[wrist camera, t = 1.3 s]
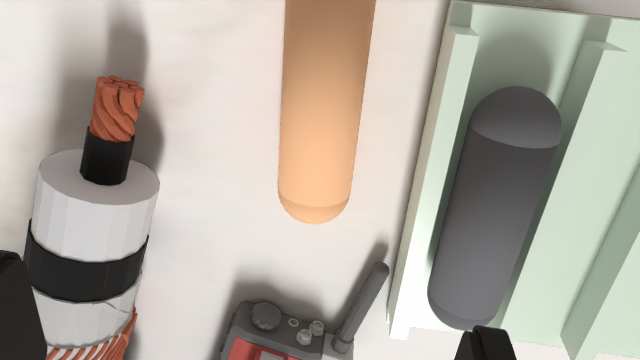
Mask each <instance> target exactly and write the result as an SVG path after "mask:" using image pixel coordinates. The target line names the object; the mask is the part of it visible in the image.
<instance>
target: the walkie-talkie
mask: <svg viewBox="0 0 640 360" xmlns="http://www.w3.org/2000/svg"><path fill="white" fill-rule="evenodd" d="M388 275H389V267H388V266H387V265H386V264H385V263H383V262H379V263H377V264H375V265H374V267H373V269H372V271H371V273H370V275H369V277H368V278H367V280H366V282H365V284H364V286H363V288H362V289H361V291H360V293H359V295H358V297H357V299H356V301H355V302H354V304H353V306H352V308H351V310H350V312H349V314H348V315H347V317H346V319H345V321H344V323H343V325H342V327H341V328H340V329H338V330H337V332H336V334H335V335H332V334H329V333H325V330H324V325H323V323H322V322H321V321H318V320H316V321H314V322H313V323H310V322H307V321H304V320H301V319H298V318H295V317H293V316H290V315H287V314H284V313H281V312H280V310H279V309H278V308H277V307H276V306H275V305H273V304H272V303H268V302H260V303H258V304H255V303H252V302H249V301H244V302H242V303H240V305H239V308H238V311H237V313H236V314H233V316H232V319H231V322H230V324H229V327H228V330H227V333H226V336H225V338H224V341H223V344H222V347H221V349H220V352H222V354H221V357H220V360H353V347H354V343H353V341H354V335H355V333H356V332H357V330H358V328H359V326H360V324H361V323H362V321H363V319H364V317H365V316H366V314H367V312H368V310H369V308H370V307H371V305H372V303H373V301H374V300H375V298H376V296H377V294H378V292H379V291H380V289H381V287H382V285H383V284H384V282H385V280H386V278H387V277H388Z"/></svg>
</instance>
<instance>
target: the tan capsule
mask: <svg viewBox="0 0 640 360" xmlns="http://www.w3.org/2000/svg"><path fill="white" fill-rule="evenodd" d="M375 3H376V0H286V7H285V30H284V53H283V75H282V98H281V121H280V143H279V166H278V195H279V199H280V202H281V204H282V205H283V207H284V209H285V210H286V211H287V212H288V213H289V214H290V215H291V216H292V217H293V218H295V219H297V220H299V221H301V222H304V223H308V224H320V223H324V222H327V221H330V220H332V219H333V218H335V217H336V216H338V215H339V214H340V213H341V212H342V210H343V209H344V208H345V206H346V204H347V202H348V200H349V196H350V192H351V185H352V177H353V170H354V162H355V155H356V147H357V139H358V132H359V124H360V117H361V109H362V102H363V94H364V86H365V79H366V71H367V64H368V56H369V49H370V41H371V34H372V26H373V18H374V11H375Z"/></svg>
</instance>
